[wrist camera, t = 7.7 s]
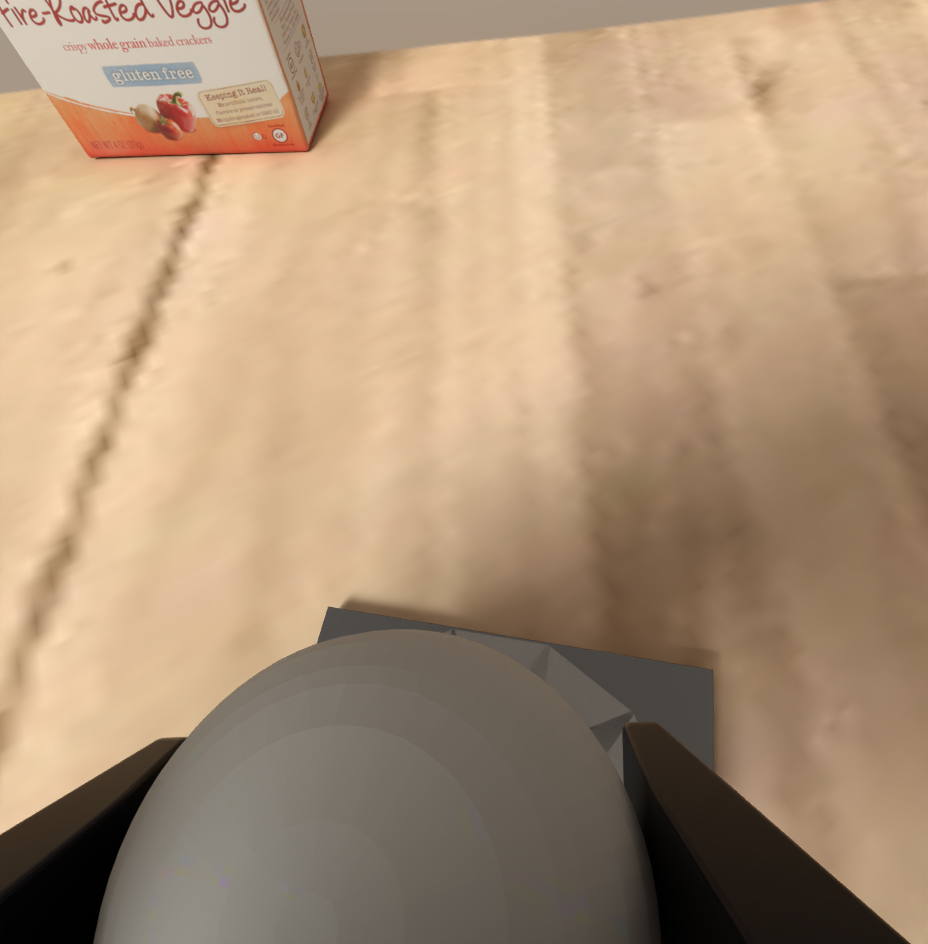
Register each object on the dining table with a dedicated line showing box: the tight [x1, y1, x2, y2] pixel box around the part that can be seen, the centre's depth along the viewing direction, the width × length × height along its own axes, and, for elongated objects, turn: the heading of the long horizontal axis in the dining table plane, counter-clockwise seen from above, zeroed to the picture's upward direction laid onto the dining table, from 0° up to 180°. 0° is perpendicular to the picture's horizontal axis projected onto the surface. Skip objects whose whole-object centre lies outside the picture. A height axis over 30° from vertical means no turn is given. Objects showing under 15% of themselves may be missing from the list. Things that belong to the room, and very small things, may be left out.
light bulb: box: [93, 629, 661, 944], centre depth 8 cm, size 5×6×10 cm
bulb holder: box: [317, 607, 714, 785], centre depth 15 cm, size 13×12×4 cm
